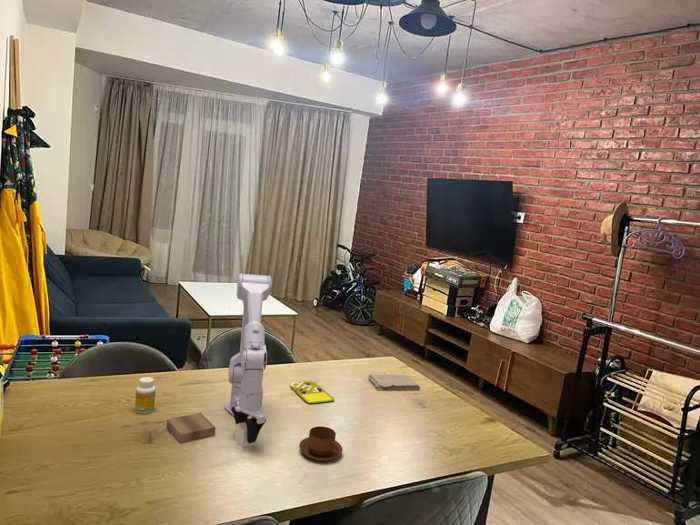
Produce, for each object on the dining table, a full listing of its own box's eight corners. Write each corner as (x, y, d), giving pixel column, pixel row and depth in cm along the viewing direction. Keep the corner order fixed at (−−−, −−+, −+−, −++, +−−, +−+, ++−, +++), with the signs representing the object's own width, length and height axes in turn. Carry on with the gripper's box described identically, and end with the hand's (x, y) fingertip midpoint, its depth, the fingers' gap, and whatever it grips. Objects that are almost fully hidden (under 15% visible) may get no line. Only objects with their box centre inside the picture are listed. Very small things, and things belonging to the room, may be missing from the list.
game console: (336, 403, 179) (336, 399, 179) (307, 406, 173) (308, 402, 173) (312, 383, 194) (313, 379, 194) (285, 386, 189) (286, 382, 188)
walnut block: (199, 422, 153) (200, 412, 153) (214, 437, 146) (215, 427, 145) (166, 429, 147) (167, 419, 147) (179, 445, 139) (180, 434, 139)
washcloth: (365, 380, 204) (366, 372, 204) (406, 379, 210) (407, 372, 210) (377, 392, 193) (378, 384, 193) (419, 391, 199) (421, 384, 199)
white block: (248, 437, 147) (250, 420, 147) (256, 444, 144) (258, 427, 143) (234, 440, 145) (236, 424, 144) (242, 447, 141) (243, 430, 141)
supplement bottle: (147, 415, 152) (149, 384, 151) (130, 411, 153) (133, 380, 152) (157, 408, 158) (159, 378, 156) (141, 404, 159) (143, 374, 157)
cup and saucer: (347, 449, 148) (350, 429, 147) (332, 469, 136) (335, 447, 136) (309, 438, 151) (311, 418, 151) (291, 456, 140) (293, 435, 139)
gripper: (225, 383, 145) (221, 428, 147) (250, 403, 134) (245, 452, 136) (248, 379, 150) (243, 423, 152) (274, 399, 139) (268, 446, 141)
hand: (246, 436), depth 144 cm, fingers open, 6 cm apart
